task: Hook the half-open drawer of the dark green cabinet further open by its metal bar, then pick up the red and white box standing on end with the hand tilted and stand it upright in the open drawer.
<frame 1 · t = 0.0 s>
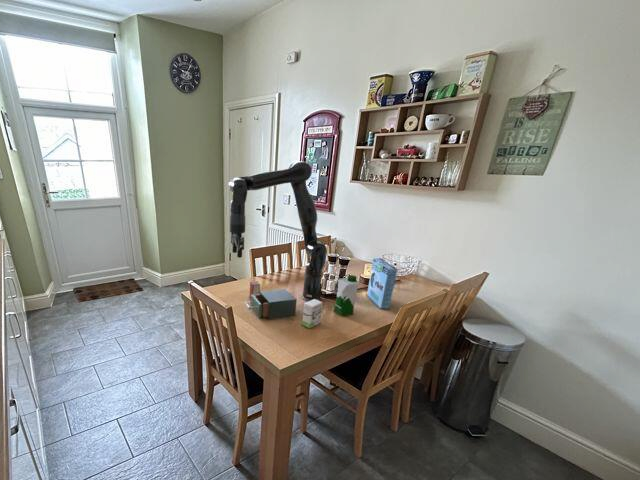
hand: (237, 254, 164), 29 cm above the table, tool pointing down, fingers open, 8 cm apart
milk carton: (343, 312, 173), on the table
light blue box: (376, 301, 187), on the table
ink box: (310, 324, 161), on the table
cabinet: (276, 311, 173), on the table
drawer: (262, 305, 168), point 5 cm above the table, slide at 4.0 cm
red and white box: (254, 299, 186), on the table
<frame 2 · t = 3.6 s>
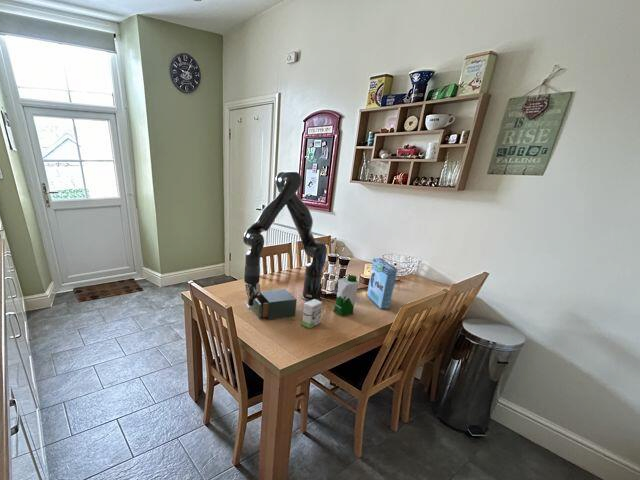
hand: (250, 305, 166), 6 cm above the table, tool pointing down, fingers closed
drawer: (262, 305, 168), point 5 cm above the table, slide at 4.0 cm, touching gripper
everything else where it was.
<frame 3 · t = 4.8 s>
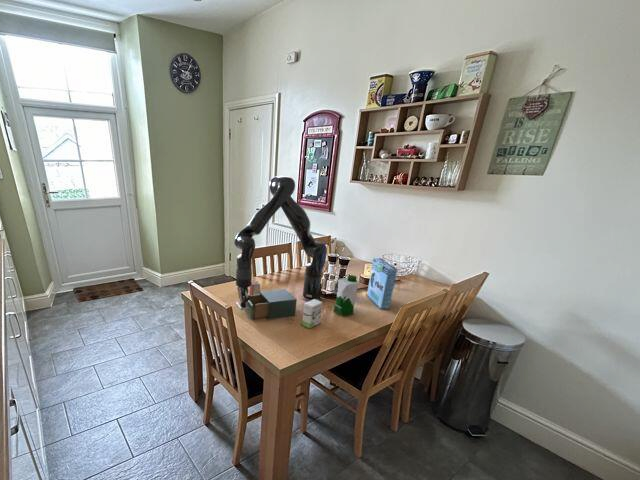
hand: (242, 308, 165), 5 cm above the table, tool pointing down, fingers closed
drawer: (255, 306, 167), point 5 cm above the table, slide at 8.3 cm, touching gripper
everything else where it was.
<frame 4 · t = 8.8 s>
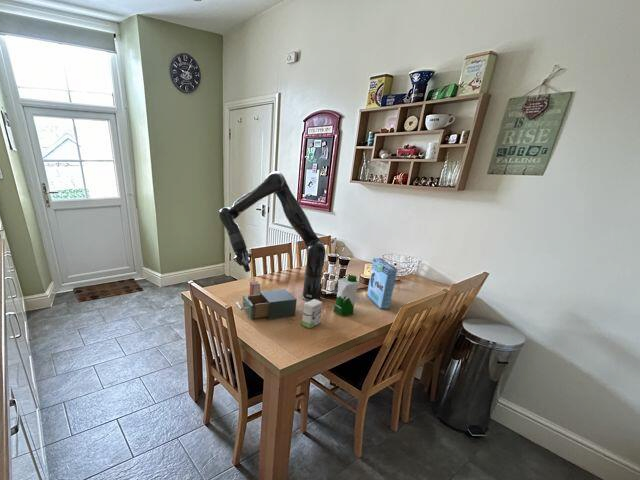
hand: (248, 271, 181), 16 cm above the table, tool tilted 30°, fingers closed
drawer: (255, 306, 167), point 5 cm above the table, slide at 8.3 cm
everything else where it was.
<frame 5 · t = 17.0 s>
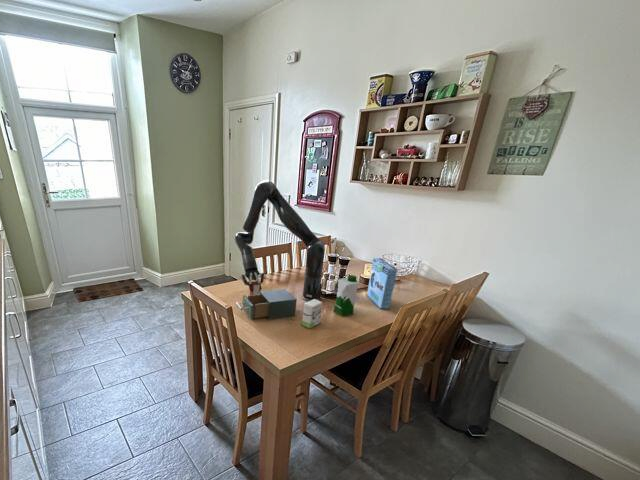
hand: (256, 290, 182), 6 cm above the table, tool tilted 45°, fingers closed on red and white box, 4 cm apart
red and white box: (254, 299, 186), on the table, touching gripper
everything else where it was.
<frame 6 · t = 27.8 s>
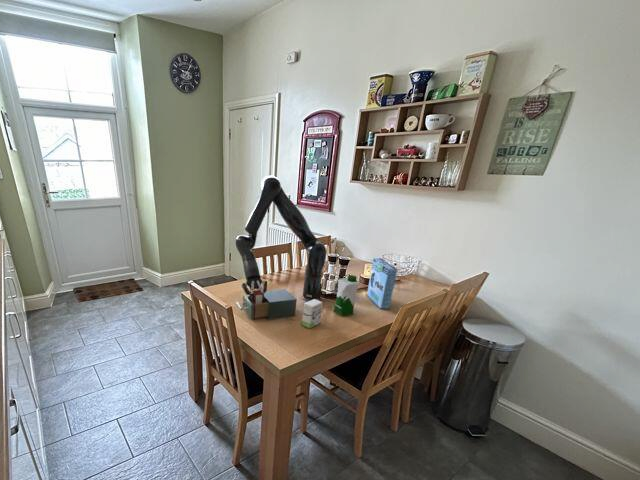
hand: (258, 301, 164), 8 cm above the table, tool tilted 45°, fingers closed on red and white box, 4 cm apart
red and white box: (256, 310, 168), point 2 cm above the table, touching gripper
everything else where it was.
when the fingers open (9 cm above the table, at t = 30.9 s): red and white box stays where it is, resting on drawer.
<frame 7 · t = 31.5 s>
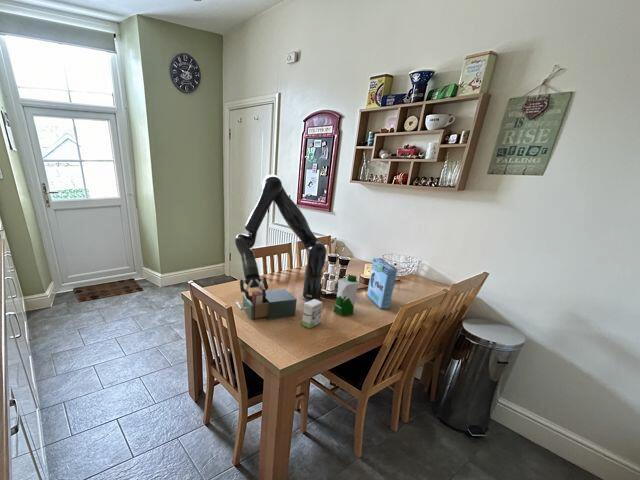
hand: (256, 298, 164), 10 cm above the table, tool tilted 45°, fingers open, 8 cm apart
drawer: (255, 306, 167), point 5 cm above the table, slide at 8.3 cm, touching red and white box
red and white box: (256, 310, 169), point 2 cm above the table, touching drawer
everything else where it was.
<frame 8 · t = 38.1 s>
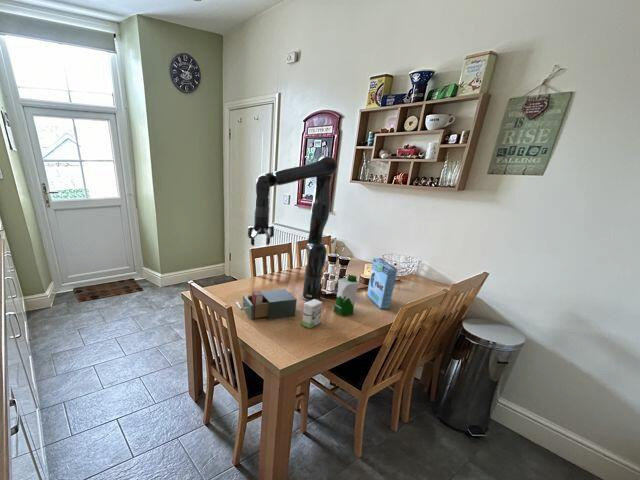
hand: (260, 245, 179), 30 cm above the table, tool pointing down, fingers open, 8 cm apart
nothing on the table moved.
at the end: drawer slide at 8.3 cm; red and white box inside the target area in the drawer (0.3 cm from its centre), point 2.0 cm above the cabinet's base; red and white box tilted 0° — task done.
